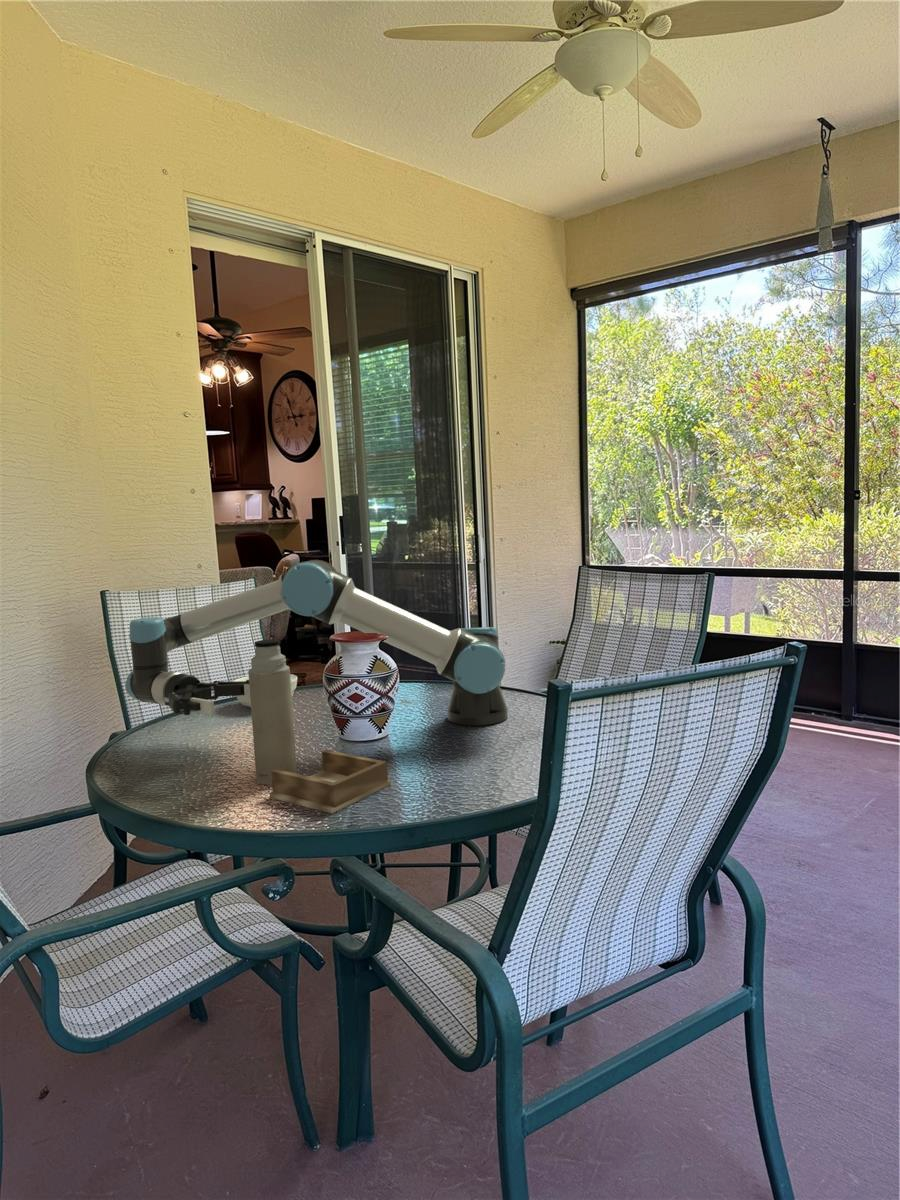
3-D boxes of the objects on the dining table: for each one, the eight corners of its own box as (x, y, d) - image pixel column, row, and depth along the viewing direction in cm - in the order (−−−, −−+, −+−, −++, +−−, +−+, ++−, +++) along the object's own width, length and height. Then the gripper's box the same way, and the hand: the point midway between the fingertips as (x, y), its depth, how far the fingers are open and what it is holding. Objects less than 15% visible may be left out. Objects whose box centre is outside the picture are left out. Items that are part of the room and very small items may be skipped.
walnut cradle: (269, 797, 140) (268, 772, 139) (330, 771, 153) (328, 748, 152) (332, 813, 130) (330, 787, 130) (390, 784, 143) (389, 760, 143)
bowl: (258, 695, 224) (256, 672, 223) (311, 698, 217) (309, 674, 217) (219, 711, 207) (217, 685, 206) (274, 715, 200) (273, 688, 200)
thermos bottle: (248, 779, 150) (238, 641, 147) (282, 768, 156) (273, 635, 153) (270, 787, 145) (260, 645, 142) (304, 776, 150) (295, 639, 147)
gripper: (225, 694, 177) (286, 704, 164) (127, 720, 157) (189, 733, 144) (222, 663, 176) (284, 670, 164) (124, 685, 156) (186, 695, 143)
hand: (240, 700), depth 154 cm, fingers open, 13 cm apart
